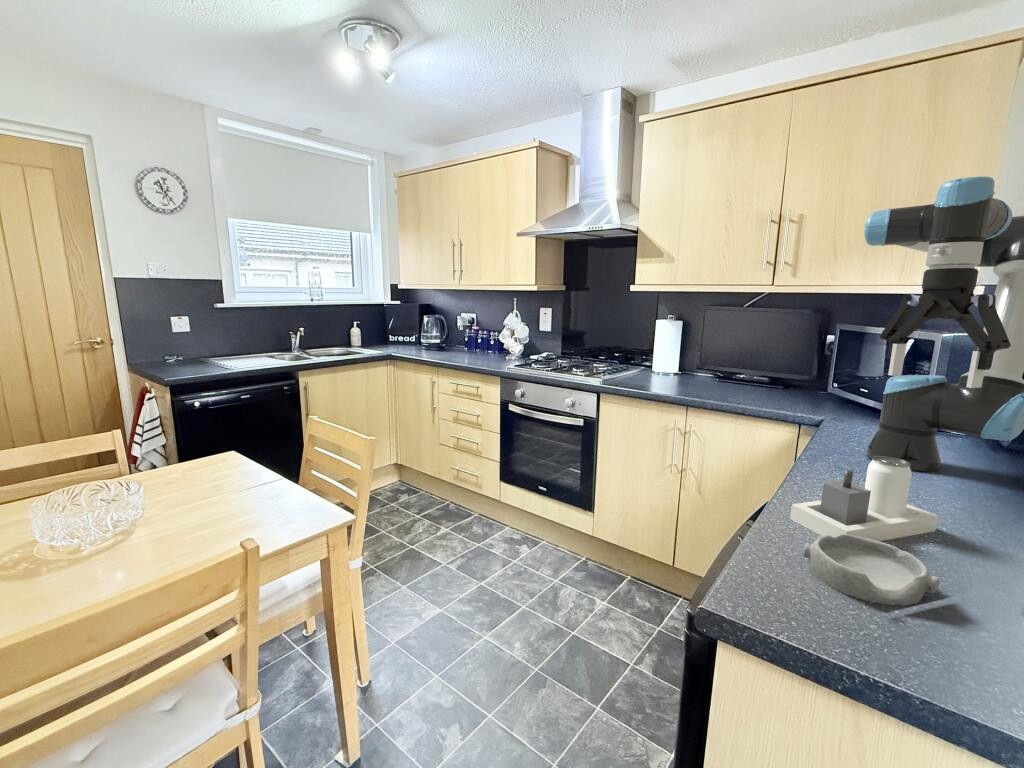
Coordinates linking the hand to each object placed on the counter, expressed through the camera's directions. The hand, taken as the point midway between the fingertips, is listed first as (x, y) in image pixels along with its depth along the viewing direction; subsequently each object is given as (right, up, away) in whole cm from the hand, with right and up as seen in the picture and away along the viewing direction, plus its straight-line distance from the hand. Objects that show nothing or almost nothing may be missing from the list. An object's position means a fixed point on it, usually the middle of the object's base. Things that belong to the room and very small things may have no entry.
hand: (931, 381), depth 92 cm
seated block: (-21, -27, -4) cm, 34 cm away
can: (-11, -27, -1) cm, 29 cm away
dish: (-28, -31, -20) cm, 46 cm away
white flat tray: (-16, -27, -3) cm, 32 cm away
